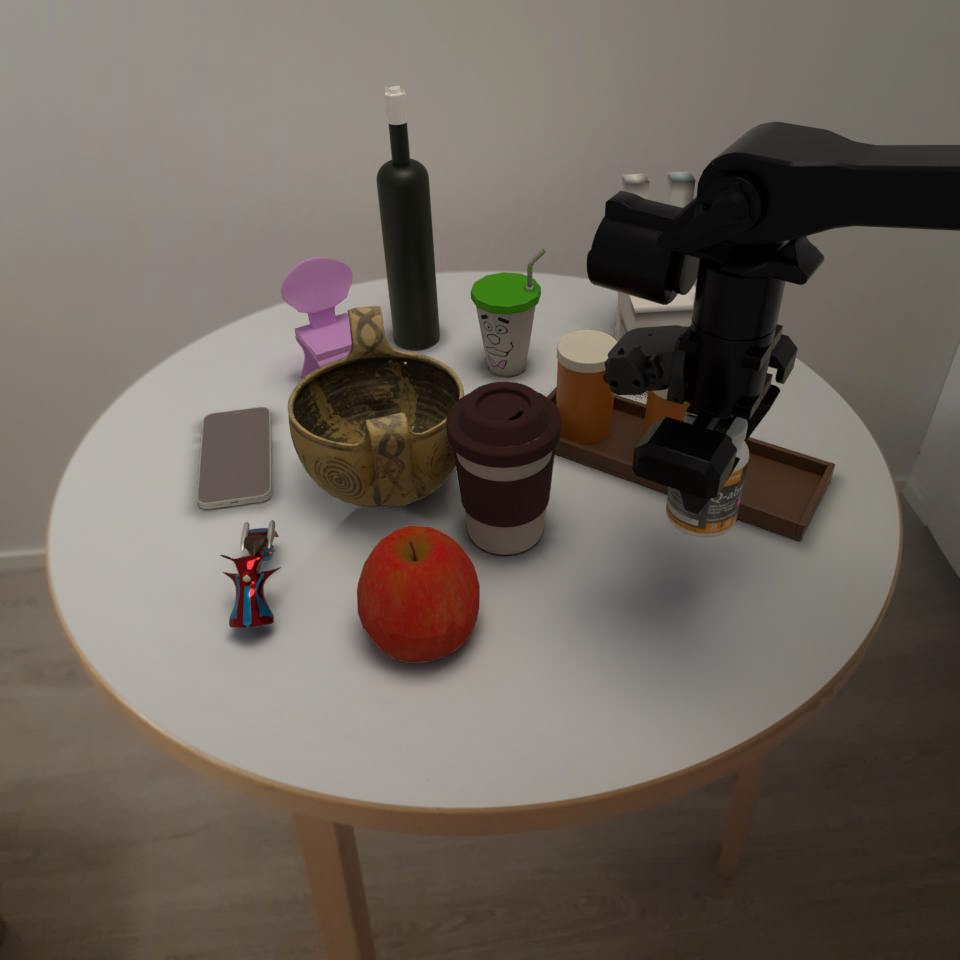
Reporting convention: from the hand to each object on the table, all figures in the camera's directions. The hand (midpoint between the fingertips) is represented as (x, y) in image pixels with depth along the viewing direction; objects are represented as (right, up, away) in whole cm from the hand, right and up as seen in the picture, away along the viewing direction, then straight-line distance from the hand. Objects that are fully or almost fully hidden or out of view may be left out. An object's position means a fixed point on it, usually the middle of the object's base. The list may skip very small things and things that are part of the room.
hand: (705, 489), depth 73 cm
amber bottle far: (-7, +7, +25) cm, 27 cm away
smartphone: (-44, +3, +23) cm, 50 cm away
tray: (+2, +3, +21) cm, 21 cm away
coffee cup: (-16, -4, +14) cm, 22 cm away
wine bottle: (-26, +18, +40) cm, 51 cm away
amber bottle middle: (+2, +3, +21) cm, 21 cm away
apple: (-23, -12, +5) cm, 27 cm away
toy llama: (+2, +15, +36) cm, 39 cm away
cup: (-15, +14, +35) cm, 41 cm away
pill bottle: (0, -2, +2) cm, 3 cm away
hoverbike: (-38, -10, +9) cm, 40 cm away
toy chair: (-34, +12, +33) cm, 49 cm away
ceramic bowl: (-27, 0, +20) cm, 34 cm away
